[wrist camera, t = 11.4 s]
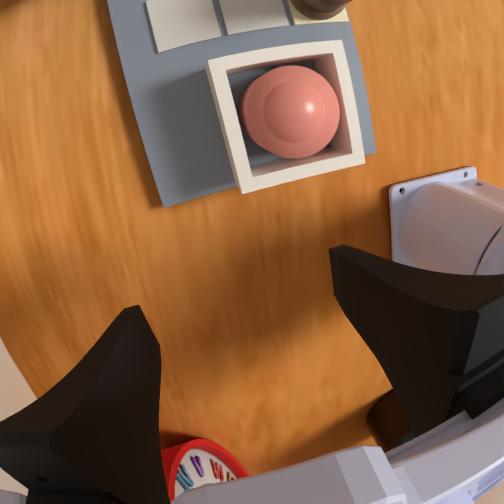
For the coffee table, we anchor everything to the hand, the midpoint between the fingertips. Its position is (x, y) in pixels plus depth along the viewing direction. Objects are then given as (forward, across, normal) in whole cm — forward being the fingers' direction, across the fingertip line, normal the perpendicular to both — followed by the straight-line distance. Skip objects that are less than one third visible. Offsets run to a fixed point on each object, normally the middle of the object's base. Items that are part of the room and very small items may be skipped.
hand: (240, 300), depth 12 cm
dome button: (+9, -5, -6) cm, 12 cm away
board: (+10, -4, -10) cm, 14 cm away
